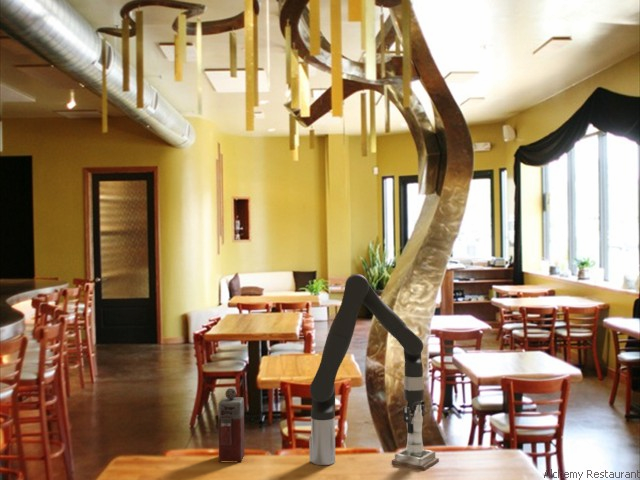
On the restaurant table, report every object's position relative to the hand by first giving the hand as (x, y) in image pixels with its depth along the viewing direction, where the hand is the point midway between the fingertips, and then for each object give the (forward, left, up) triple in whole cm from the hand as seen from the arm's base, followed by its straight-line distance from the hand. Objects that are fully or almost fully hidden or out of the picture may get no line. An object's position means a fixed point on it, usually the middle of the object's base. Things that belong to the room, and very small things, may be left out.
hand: (414, 430), depth 244 cm
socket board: (0, 0, -12) cm, 12 cm away
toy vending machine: (-62, -37, -12) cm, 73 cm away
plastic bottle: (0, 0, -10) cm, 10 cm away
